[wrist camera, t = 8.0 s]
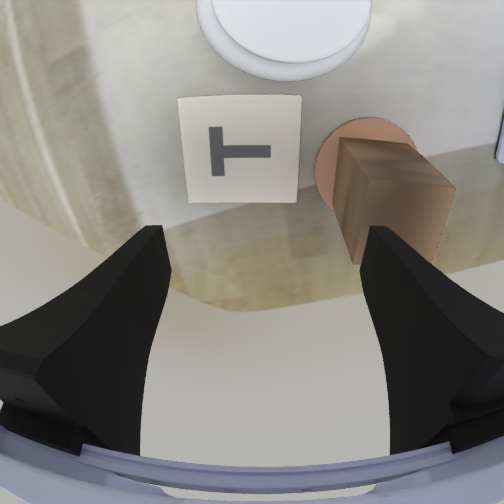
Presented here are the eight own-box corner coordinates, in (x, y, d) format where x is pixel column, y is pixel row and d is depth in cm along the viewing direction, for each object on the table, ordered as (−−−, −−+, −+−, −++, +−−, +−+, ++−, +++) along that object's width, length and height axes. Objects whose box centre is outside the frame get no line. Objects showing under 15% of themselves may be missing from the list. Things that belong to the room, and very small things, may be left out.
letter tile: (301, 95, 16) (301, 95, 16) (296, 202, 21) (296, 203, 21) (177, 97, 17) (177, 98, 16) (188, 202, 21) (188, 203, 21)
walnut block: (408, 143, 17) (455, 188, 12) (395, 206, 20) (430, 264, 15) (339, 136, 17) (369, 180, 13) (331, 204, 20) (352, 264, 15)
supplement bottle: (224, 66, 15) (181, 98, 7) (220, -24, 12) (173, -89, 4) (326, 67, 15) (396, 103, 7) (325, -22, 12) (397, -79, 4)
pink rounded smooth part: (425, 124, 17) (428, 127, 16) (405, 218, 21) (407, 222, 21) (318, 112, 17) (319, 114, 17) (310, 215, 21) (311, 220, 21)
